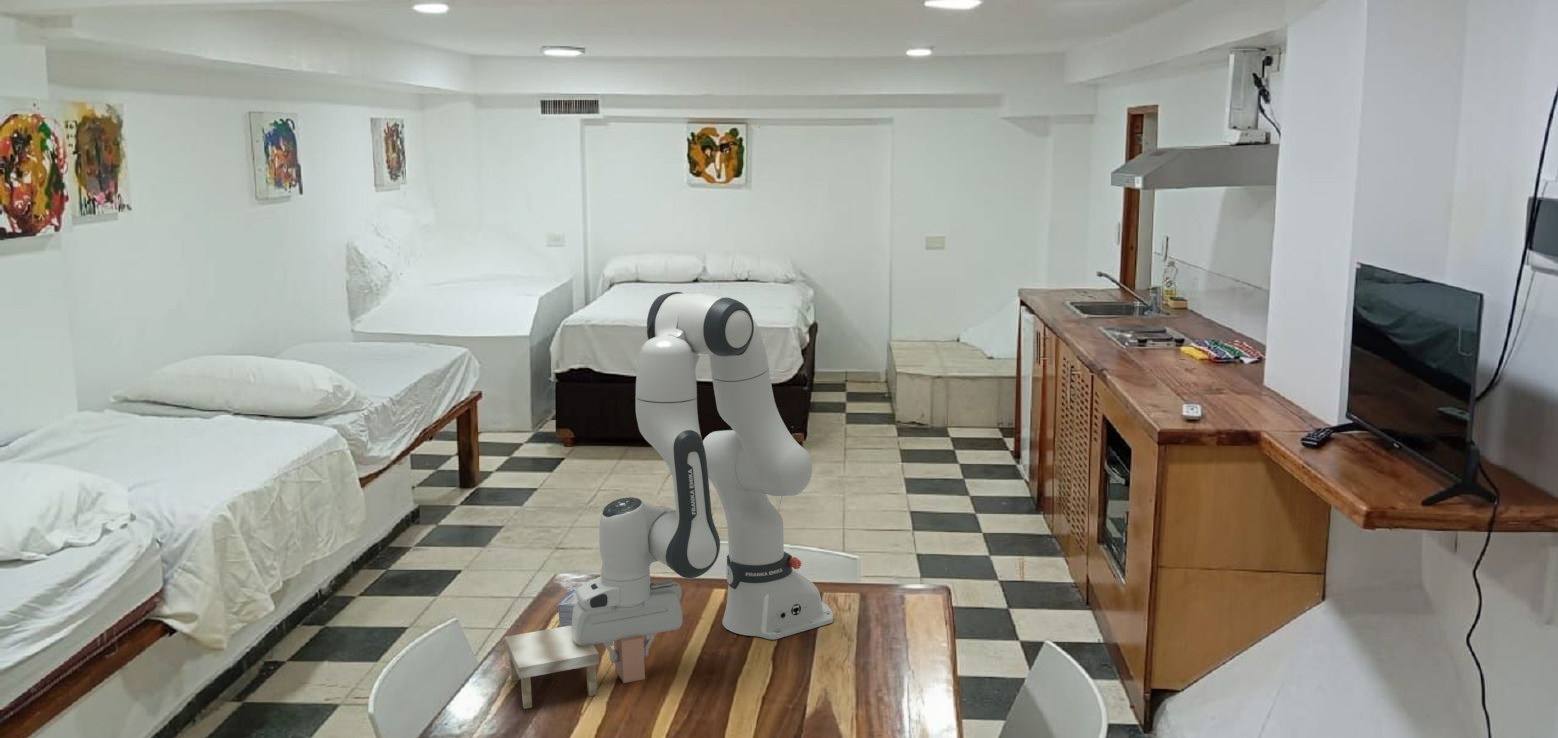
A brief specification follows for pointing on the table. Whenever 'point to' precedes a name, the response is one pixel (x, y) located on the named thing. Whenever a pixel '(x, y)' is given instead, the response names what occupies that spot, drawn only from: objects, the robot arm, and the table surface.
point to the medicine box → (567, 609)
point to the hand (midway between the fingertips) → (629, 658)
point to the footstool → (549, 657)
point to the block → (630, 659)
